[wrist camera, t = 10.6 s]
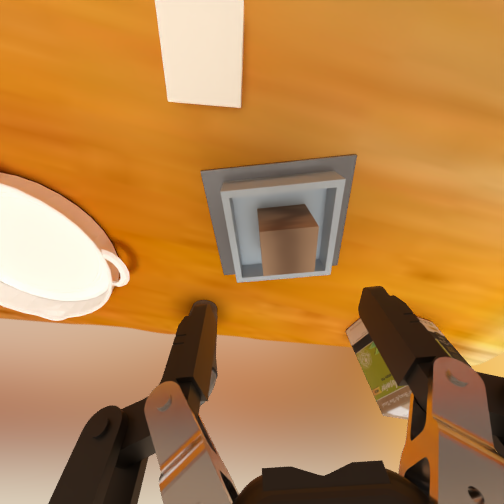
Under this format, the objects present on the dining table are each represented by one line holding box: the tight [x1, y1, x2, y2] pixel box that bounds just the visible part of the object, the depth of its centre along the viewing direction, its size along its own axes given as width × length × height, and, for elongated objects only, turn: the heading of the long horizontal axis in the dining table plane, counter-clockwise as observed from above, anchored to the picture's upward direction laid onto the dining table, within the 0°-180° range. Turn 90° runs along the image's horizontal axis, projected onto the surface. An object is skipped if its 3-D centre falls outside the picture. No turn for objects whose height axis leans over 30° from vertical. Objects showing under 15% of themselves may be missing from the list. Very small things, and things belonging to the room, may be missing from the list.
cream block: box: [155, 0, 244, 108], centre depth 17 cm, size 6×6×4 cm
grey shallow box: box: [201, 154, 357, 283], centre depth 27 cm, size 18×16×4 cm
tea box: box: [346, 317, 471, 419], centre depth 36 cm, size 15×10×15 cm
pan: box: [0, 173, 129, 321], centre depth 29 cm, size 24×27×4 cm
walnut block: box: [257, 204, 319, 276], centre depth 25 cm, size 6×6×6 cm
